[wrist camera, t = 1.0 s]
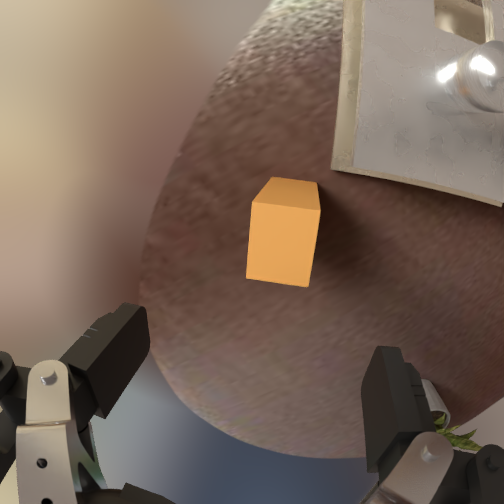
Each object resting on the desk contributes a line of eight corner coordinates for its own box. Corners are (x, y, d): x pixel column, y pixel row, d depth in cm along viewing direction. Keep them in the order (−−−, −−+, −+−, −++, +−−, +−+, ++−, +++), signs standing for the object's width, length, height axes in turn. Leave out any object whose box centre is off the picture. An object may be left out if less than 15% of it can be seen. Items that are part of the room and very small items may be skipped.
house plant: (399, 437, 38) (409, 525, 23) (339, 408, 37) (338, 516, 22) (472, 384, 32) (506, 475, 17) (422, 344, 31) (460, 460, 16)
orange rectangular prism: (316, 182, 27) (320, 211, 18) (309, 235, 29) (307, 287, 19) (272, 176, 27) (252, 201, 18) (266, 229, 29) (246, 277, 20)
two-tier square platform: (505, 18, 15) (571, -8, 4) (495, 204, 24) (568, 247, 13) (343, -37, 18) (355, -110, 7) (330, 167, 26) (345, 195, 15)
